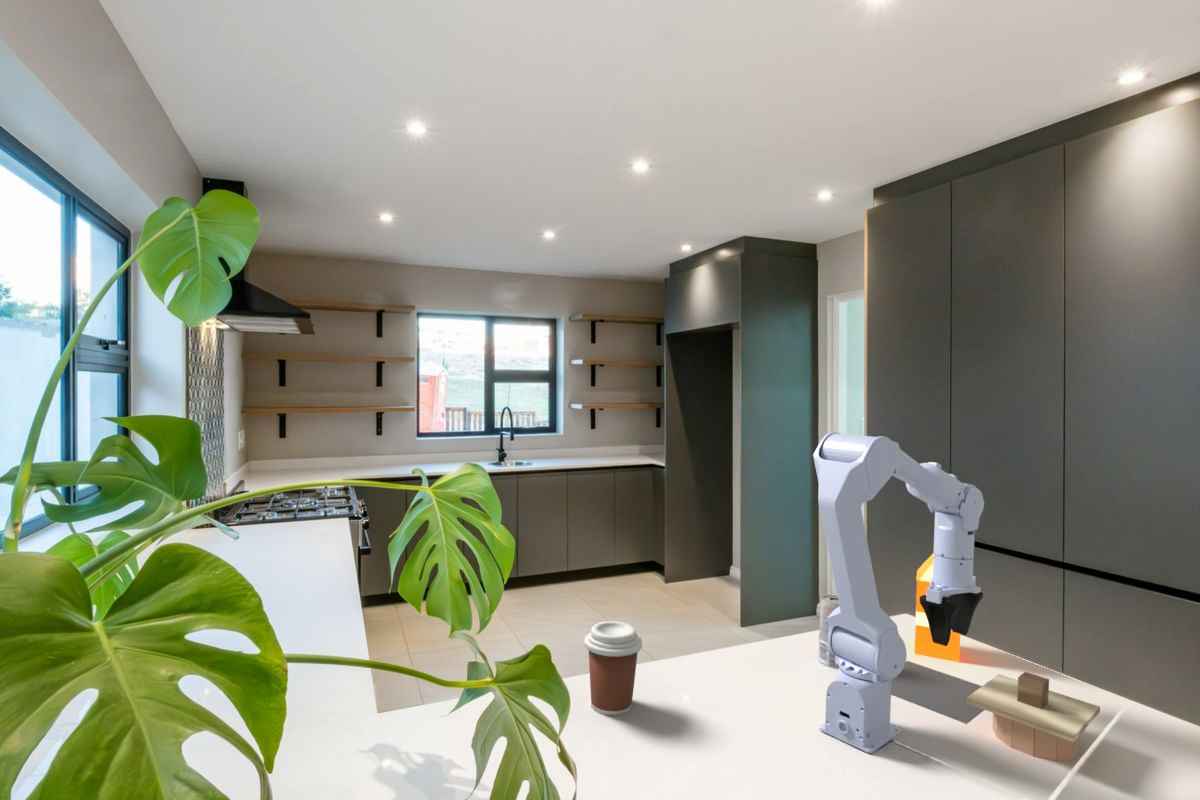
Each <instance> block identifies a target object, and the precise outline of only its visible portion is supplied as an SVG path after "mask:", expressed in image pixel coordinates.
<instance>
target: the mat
mask: <svg viewBox="0 0 1200 800" xmlns="http://www.w3.org/2000/svg"><path fill="white" fill-rule="evenodd" d="M982 686H983V685H979V684H978V683H973V682H972V681H968V680H965V679H962V678H959V677H956V676H954V675H951V674H949V673H944V672H942V671H939V670H935V669H932V668H930V667H927V666H924V665H921V664H918V663H915V662H912V661H909V660H906V663H905V666H904V668H903V670H902V671H901V672H900V674H898V675H897V676H896V678H893V679H892V682H891V696H893V697H896V698H899V699H901V700H903V701H907V702H909V703H910V704H914V705H916V706H919V707H922V708H925V709H926V710H930V711H932V712H934V713H937V714H940V715H942V716H945V717H948V718H950V719H952V720H955V721H957V722H960V723H963V724H965V725H966V724H968V723H970V722H971V721H972V720H973V719H975V717H977V716H978V715H979V714H981V713H982V712H983V711H985V710H984V709H981V708H979V707H976V706H973V705H970V704H968V703H966V698H967V697H968V696H969V695H971V694H972V693H974V692H975V691H976V690H978V689H979V688H980V687H982Z"/></svg>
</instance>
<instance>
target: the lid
mask: <svg viewBox="0 0 1200 800" xmlns="http://www.w3.org/2000/svg"><path fill="white" fill-rule="evenodd" d="M981 686H982V687H980V688H979V689H978V690H976V691H975V692H974V693H972V694H971V695H969V696H968V697H967V698H966V703H968V704H970V705H973V706H976V707H979V708H981V709H984V710H983V711H987V712H990V713H992V714H993V713H995V714H998V715H1001V716H1003V717H1006V718H1009V719H1012V720H1014V721H1017V722H1020V723H1022V724H1025V725H1028V726H1031V727H1033V728H1036V729H1039V730H1042V731H1044V732H1047V733H1050V734H1053V735H1055V736H1058V737H1061V738H1064V739H1066V740H1069V741H1072V742H1074V741H1075V740H1076V739H1077V738H1078V737H1079V736H1081V735H1082V733H1083V732H1085V730H1086V729H1087V727H1088V726H1090V724H1091V723H1092V722H1093V721H1094V720H1095V718H1096V717H1097V716H1098V715H1099V714H1100V713H1101V707H1100V706H1098V705H1096V704H1093V703H1089V702H1086V701H1084V700H1080V699H1078V698H1074V697H1071V696H1067V695H1064V694H1061V693H1059V692H1055V691H1053V690H1049V688H1050V679H1049V678H1047V677H1044V676H1040V675H1036V674H1034V673H1031V672H1027V671H1024V672H1023V673H1022V674H1019V676H1018V677H1017V679H1015V678H1013V677H1008V676H1005V675H1002V674H1000V673H999V674H997V675H996V676H995V677H993V678H992V679H990V680H989V681H987V682H986V683H985V684H984V685H981ZM1079 738H1080V737H1079Z"/></svg>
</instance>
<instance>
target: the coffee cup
mask: <svg viewBox="0 0 1200 800" xmlns="http://www.w3.org/2000/svg"><path fill="white" fill-rule="evenodd" d="M636 630H637V629H636V628H635V627H634V626H633V625H632V624H630V623H627V622H622V621H612V620H611V621H610V620H609V621H601V622H598V623H596V624H594V625H593V626H592V627H591V631H590V632H589V633H588V634H586V635H585V637H584V647H585V649H586V650H587V651H588V663H589V664H588V666H589V669H588V670H589V684H590V685H589V687H590V707H591V708H592V710H593V711H595V712H596V713H598V714H601V715H604V716H622V715H625V714H627V713H629V712H630V711H631V710H632V708H633V707H632V706H633V698H634V697H633V695H634V689H635V688H634V687H635V680H636V669H637V661H638V653H639V652H640V651H641V650H642V649H643V641H642V638H641V636H639V635H638V634H637V631H636Z"/></svg>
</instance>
